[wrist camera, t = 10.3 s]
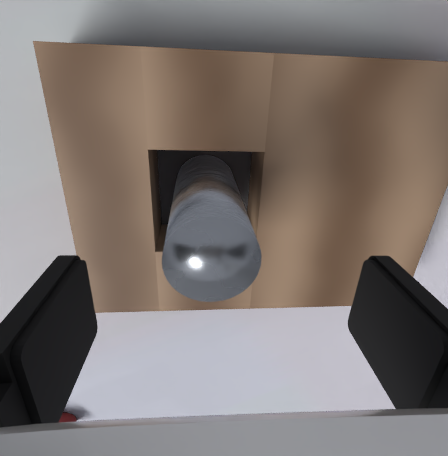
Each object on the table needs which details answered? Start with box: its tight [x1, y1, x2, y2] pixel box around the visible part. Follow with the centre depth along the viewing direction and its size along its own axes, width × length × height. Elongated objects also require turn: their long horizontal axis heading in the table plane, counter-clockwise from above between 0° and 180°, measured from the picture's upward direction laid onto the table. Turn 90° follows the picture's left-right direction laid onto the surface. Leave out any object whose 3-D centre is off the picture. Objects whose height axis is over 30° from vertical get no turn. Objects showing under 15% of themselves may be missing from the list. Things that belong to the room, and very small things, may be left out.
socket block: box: [33, 41, 448, 313], centre depth 18 cm, size 20×14×4 cm
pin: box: [162, 155, 262, 302], centre depth 15 cm, size 4×4×9 cm
